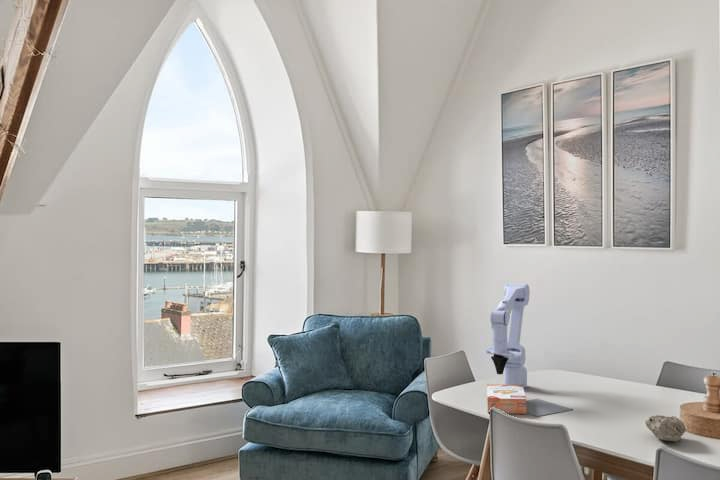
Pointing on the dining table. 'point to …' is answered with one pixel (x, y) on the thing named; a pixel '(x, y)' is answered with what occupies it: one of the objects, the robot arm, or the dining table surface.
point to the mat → (543, 407)
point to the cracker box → (507, 398)
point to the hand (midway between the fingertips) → (499, 373)
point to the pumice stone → (666, 427)
